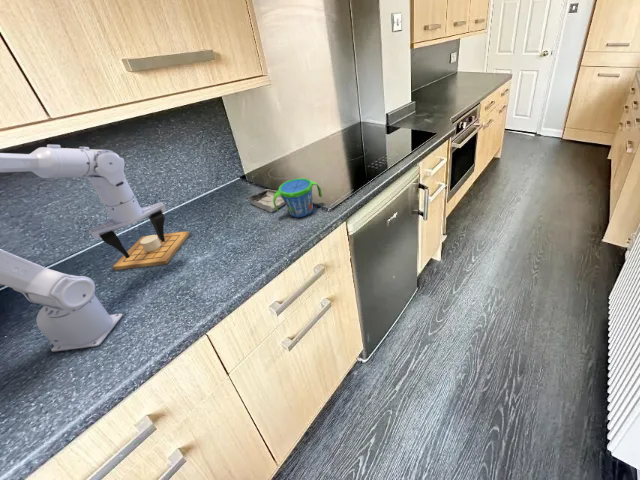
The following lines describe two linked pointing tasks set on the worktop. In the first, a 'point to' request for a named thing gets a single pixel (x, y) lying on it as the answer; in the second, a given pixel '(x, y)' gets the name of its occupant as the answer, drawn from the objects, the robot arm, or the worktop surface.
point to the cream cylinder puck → (150, 243)
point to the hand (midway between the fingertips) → (145, 247)
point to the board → (152, 252)
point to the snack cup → (297, 196)
